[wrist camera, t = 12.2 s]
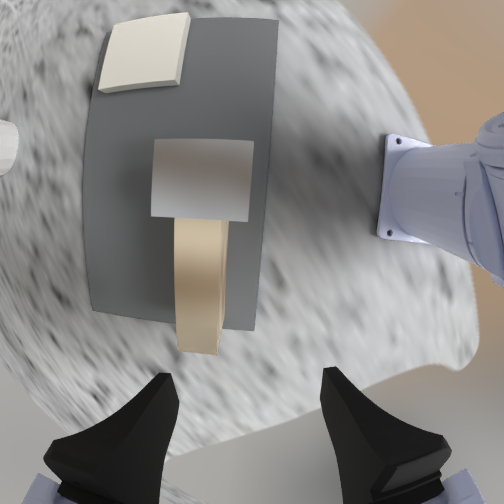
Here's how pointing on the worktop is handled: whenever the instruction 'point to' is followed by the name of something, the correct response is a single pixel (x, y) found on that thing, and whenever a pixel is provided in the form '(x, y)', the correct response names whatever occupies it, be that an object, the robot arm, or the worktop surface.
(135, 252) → the mat
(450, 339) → the worktop surface
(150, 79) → the tile
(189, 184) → the turner
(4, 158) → the white cup
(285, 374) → the worktop surface
